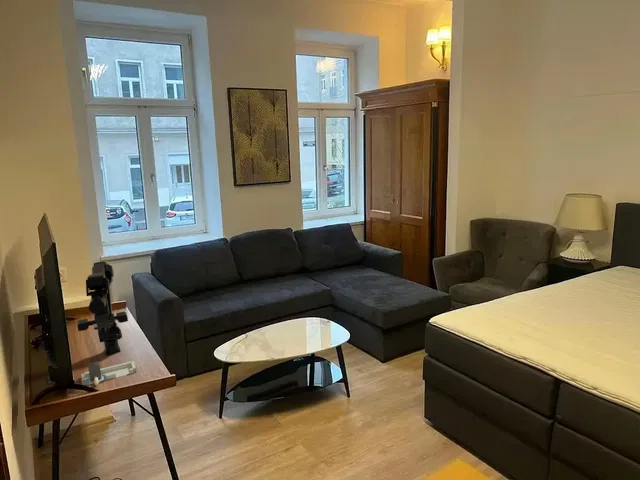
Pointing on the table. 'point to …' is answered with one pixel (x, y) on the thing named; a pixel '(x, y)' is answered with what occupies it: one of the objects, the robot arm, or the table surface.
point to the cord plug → (94, 372)
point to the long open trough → (111, 372)
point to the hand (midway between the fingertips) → (105, 339)
